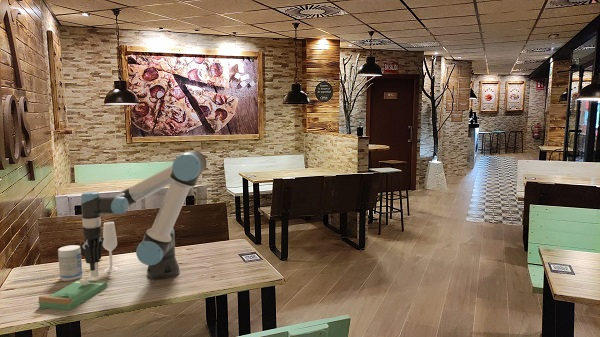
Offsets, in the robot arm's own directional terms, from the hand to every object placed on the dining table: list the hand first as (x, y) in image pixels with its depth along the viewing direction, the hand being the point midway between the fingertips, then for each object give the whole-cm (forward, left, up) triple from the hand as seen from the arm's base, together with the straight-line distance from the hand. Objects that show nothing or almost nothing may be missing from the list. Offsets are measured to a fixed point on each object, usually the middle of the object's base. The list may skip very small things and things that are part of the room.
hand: (94, 276), depth 199 cm
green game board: (0, +14, -4) cm, 14 cm away
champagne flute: (+4, -18, -4) cm, 19 cm away
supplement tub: (+16, -5, -4) cm, 18 cm away
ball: (0, +8, 0) cm, 8 cm away
